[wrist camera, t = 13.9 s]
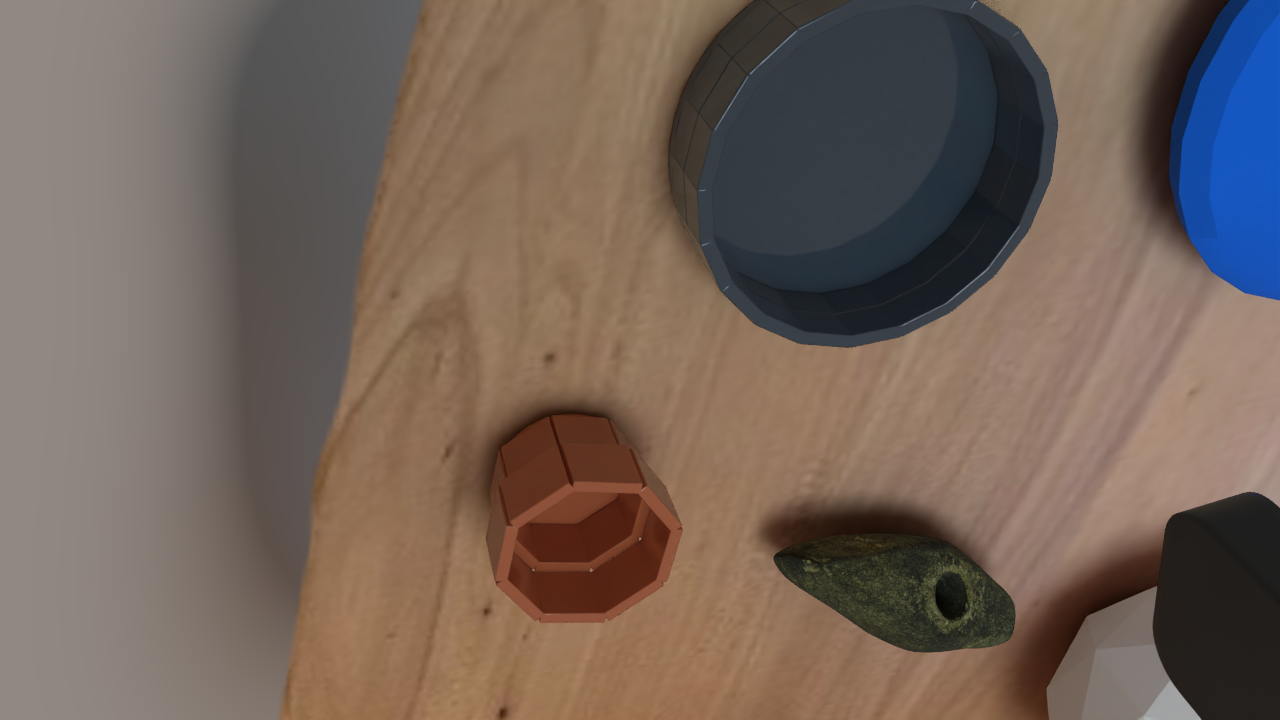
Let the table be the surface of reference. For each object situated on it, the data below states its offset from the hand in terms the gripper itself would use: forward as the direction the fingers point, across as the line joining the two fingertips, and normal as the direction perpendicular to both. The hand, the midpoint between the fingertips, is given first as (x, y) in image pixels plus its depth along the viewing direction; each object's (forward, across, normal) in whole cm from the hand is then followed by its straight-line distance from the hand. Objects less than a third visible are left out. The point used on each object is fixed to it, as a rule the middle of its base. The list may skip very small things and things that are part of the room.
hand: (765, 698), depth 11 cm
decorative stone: (+28, -12, +29) cm, 42 cm away
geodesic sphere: (+28, -25, +39) cm, 54 cm away
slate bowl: (+28, -12, +9) cm, 32 cm away
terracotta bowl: (+28, 0, +19) cm, 34 cm away
